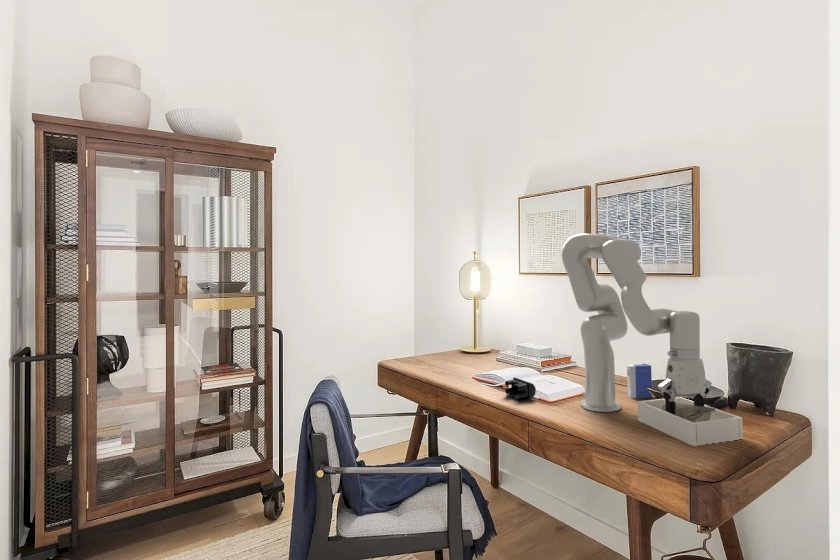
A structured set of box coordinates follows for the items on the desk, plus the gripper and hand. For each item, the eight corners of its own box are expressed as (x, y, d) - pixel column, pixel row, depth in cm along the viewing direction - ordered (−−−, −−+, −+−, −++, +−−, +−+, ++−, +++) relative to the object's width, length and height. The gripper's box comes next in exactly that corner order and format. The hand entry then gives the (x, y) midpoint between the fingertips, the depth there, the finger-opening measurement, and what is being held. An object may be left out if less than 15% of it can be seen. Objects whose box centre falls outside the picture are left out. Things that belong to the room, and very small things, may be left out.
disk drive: (696, 398, 163) (673, 405, 156) (696, 391, 163) (673, 397, 156) (728, 405, 154) (705, 413, 147) (728, 397, 154) (704, 404, 147)
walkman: (648, 395, 167) (647, 363, 167) (652, 397, 164) (651, 364, 164) (626, 396, 167) (626, 363, 167) (630, 398, 164) (629, 365, 164)
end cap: (536, 400, 167) (535, 381, 167) (520, 402, 164) (519, 384, 164) (520, 393, 176) (519, 376, 176) (504, 396, 173) (504, 378, 173)
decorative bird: (668, 417, 140) (667, 393, 140) (722, 433, 125) (722, 406, 125) (656, 420, 137) (656, 396, 137) (711, 437, 123) (710, 409, 123)
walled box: (638, 420, 141) (637, 401, 141) (681, 415, 144) (681, 396, 144) (693, 446, 120) (693, 423, 120) (742, 439, 123) (742, 417, 123)
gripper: (668, 358, 126) (668, 419, 127) (720, 354, 130) (720, 413, 130) (649, 353, 134) (649, 411, 134) (699, 349, 137) (699, 405, 138)
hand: (684, 412), depth 132 cm, fingers open, 9 cm apart
